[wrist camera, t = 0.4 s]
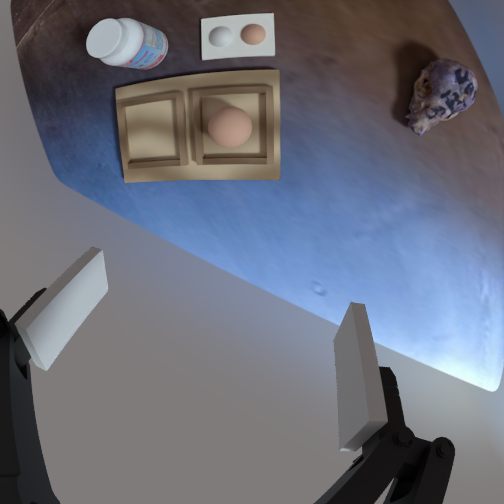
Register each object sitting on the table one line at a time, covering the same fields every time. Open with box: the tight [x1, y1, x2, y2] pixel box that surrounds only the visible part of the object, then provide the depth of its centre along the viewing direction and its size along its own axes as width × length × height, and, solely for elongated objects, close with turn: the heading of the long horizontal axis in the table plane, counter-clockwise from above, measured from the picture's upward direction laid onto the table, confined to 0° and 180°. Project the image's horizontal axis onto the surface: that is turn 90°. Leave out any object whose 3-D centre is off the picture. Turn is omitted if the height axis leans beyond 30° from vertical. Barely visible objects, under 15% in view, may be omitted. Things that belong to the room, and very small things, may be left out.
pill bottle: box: [86, 18, 168, 69], centre depth 26 cm, size 6×6×11 cm
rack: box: [115, 70, 280, 183], centre depth 35 cm, size 14×22×2 cm, turn 91°
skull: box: [405, 58, 478, 136], centre depth 26 cm, size 12×8×6 cm, turn 138°
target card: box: [201, 13, 275, 60], centre depth 29 cm, size 6×9×1 cm, turn 91°
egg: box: [208, 106, 252, 148], centre depth 32 cm, size 5×5×5 cm
